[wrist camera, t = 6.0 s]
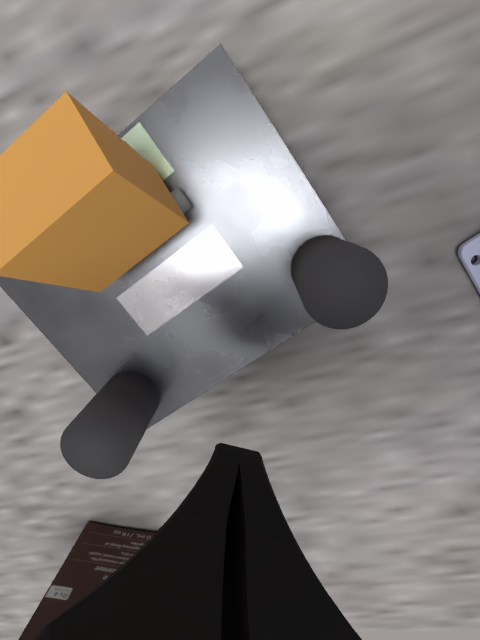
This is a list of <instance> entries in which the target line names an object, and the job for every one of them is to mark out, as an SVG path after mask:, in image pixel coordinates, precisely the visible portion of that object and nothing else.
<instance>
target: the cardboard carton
mask: <svg viewBox="0 0 480 640" xmlns="http://www.w3.org/2000/svg"><path fill="white" fill-rule="evenodd" d="M191 207H192V204H191V202H190V200H189V199H188V197H187V196H186V195H185V193H184V192H183V191H182V190H181V189H180V188H179V187H177V188H176V189H175V190H173V191H172V192H171V193H170V192H169V190H168V188H167V187H166V185H165V184H164V182H163V180H162V179H161V177H160V175H159V174H158V172H157V171H156V169H155V167H154V166H153V165H151V164H150V163H149V162H148V161H147V160H146V159H144V158H143V157H142V156H141V155H140V154H139V153H137V152H136V151H135V150H134V149H133V148H132V147H130V146H129V145H128V144H127V143H126V142H125V141H123V140H122V139H121V138H120V137H119V136H118V135H116V134H115V133H114V132H113V131H112V130H111V129H109V128H108V127H107V126H106V125H105V124H104V123H102V122H101V121H100V120H99V119H98V118H97V117H95V116H94V115H93V114H92V113H91V112H90V111H88V110H87V109H86V108H85V107H84V106H83V105H81V104H80V103H79V102H78V101H77V100H76V99H74V98H73V97H72V96H71V95H70V94H69V93H67V92H65V93H64V94H63V95H62V96H61V97H60V98H59V99H58V100H57V101H56V102H55V103H54V104H53V105H52V106H51V107H50V108H49V109H48V110H46V111H45V112H44V113H43V114H42V115H41V116H40V117H39V118H38V119H37V120H36V121H35V122H34V123H33V124H32V125H31V126H30V127H29V128H28V129H27V130H26V131H25V132H24V133H23V134H22V135H21V136H20V137H19V138H18V139H17V140H16V141H15V142H14V143H13V144H12V145H11V146H10V147H9V148H7V149H6V150H5V151H4V152H3V153H2V154H1V155H0V276H2V277H8V278H15V279H21V280H27V281H33V282H40V283H46V284H52V285H58V286H64V287H71V288H77V289H83V290H89V291H96V292H101V291H102V290H104V289H105V288H106V287H108V286H109V285H110V284H111V283H113V282H114V281H115V280H117V279H118V278H119V277H120V276H122V275H123V274H124V273H126V272H127V271H128V270H129V269H131V268H132V267H133V266H135V265H136V264H137V263H138V262H140V261H141V260H142V259H144V258H145V257H146V256H147V255H149V254H150V253H151V252H153V251H154V250H155V249H156V248H158V247H159V246H160V245H162V244H163V243H164V242H165V241H167V240H168V239H169V238H170V237H172V236H173V235H174V234H176V233H177V232H178V231H179V230H181V229H182V228H183V227H185V226H186V225H187V224H188V223H189V222H188V220H187V219H186V217H185V216H184V213H185V212H186V211H187V210H189V209H190V208H191Z"/></svg>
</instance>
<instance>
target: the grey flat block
mask: <svg viewBox="0 0 480 640" xmlns="http://www.w3.org/2000/svg"><path fill="white" fill-rule="evenodd" d="M118 136H119V137H120V138H121V139H122V140H123V141H125V142H126V143H127V144H128V145H129V146H130V147H132V148H133V149H134V150H135V151H136V152H137V153H139V154H140V155H141V156H142V157H143V158H144V159H146V160H147V161H148V162H149V163H150V164H151V165H153V166H154V167H155V169H156V171H157V172H158V174H159V175H160V177H161V179H162V180H163V182H164V184H165V185H166V187H167V188H168V190H169V192H170V193H171V192H172V191H173V190H175V189H176V188H177V187H179V188H180V189H181V190H182V191H183V192H184V193H185V195H186V196H187V197H188V199H189V200H190V202H191V204H192V207H191V208H190V209H189V210H187V211H186V212H185V213H184V216H185V217H186V219H187V220H188V222H189V223H188V224H187V225H186V226H185V227H183V228H182V229H181V230H179V231H178V232H177V233H176V234H174V235H173V236H172V237H170V238H169V239H168V240H167V241H165V242H164V243H163V244H162V245H160V246H159V247H158V248H156V249H155V250H154V251H153V252H151V253H150V254H149V255H147V256H146V257H145V258H144V259H142V260H141V261H140V262H138V263H137V264H136V265H135V266H133V267H132V268H131V269H129V270H128V271H127V272H126V273H124V274H123V275H122V276H120V277H119V278H118V279H117V280H115V281H114V282H113V283H111V284H110V285H109V286H108V287H106V288H105V289H104V290H102V291H101V292H96V291H89V290H83V289H77V288H71V287H64V286H58V285H52V284H46V283H40V282H33V281H27V280H21V279H15V278H8V277H2V276H0V286H1V288H2V289H3V290H4V291H5V292H6V293H7V294H8V295H9V296H10V298H11V299H12V300H13V301H14V302H15V303H16V304H17V305H18V306H19V308H20V309H21V310H22V311H23V312H24V313H25V314H26V315H27V316H28V318H29V319H30V320H31V321H32V322H33V323H34V324H35V325H36V327H37V328H38V329H39V330H40V331H41V332H42V333H43V334H44V335H45V337H46V338H47V339H48V340H49V341H50V342H51V343H52V344H53V345H54V347H55V348H56V349H57V350H58V351H59V352H60V353H61V354H62V355H63V357H64V358H65V359H66V360H67V361H68V362H69V363H70V364H71V365H72V367H73V368H74V369H75V370H76V371H77V372H78V373H79V374H80V375H81V377H82V378H83V379H84V380H85V381H86V382H87V383H88V384H89V385H90V387H91V388H92V389H93V390H94V391H95V392H96V393H98V392H99V391H100V390H101V389H102V387H103V386H104V385H105V384H106V383H107V382H108V381H109V380H110V378H111V377H113V376H114V375H116V374H118V373H120V372H124V371H133V372H138V373H141V374H143V375H145V376H146V377H148V378H149V379H150V380H151V381H152V382H153V383H154V384H155V386H156V388H157V390H158V392H159V405H158V408H157V410H156V412H155V414H154V416H153V417H152V419H151V421H150V423H149V425H148V427H147V429H148V428H149V427H151V426H152V425H154V424H155V423H157V422H159V421H160V420H162V419H163V418H165V417H166V416H168V415H170V414H171V413H173V412H174V411H176V410H177V409H179V408H180V407H182V406H184V405H185V404H187V403H188V402H190V401H191V400H193V399H195V398H196V397H198V396H199V395H201V394H202V393H204V392H206V391H207V390H209V389H210V388H212V387H213V386H215V385H216V384H218V383H220V382H221V381H223V380H224V379H226V378H227V377H229V376H231V375H232V374H234V373H235V372H237V371H238V370H240V369H242V368H243V367H245V366H246V365H248V364H249V363H251V362H252V361H254V360H256V359H257V358H259V357H260V356H262V355H263V354H265V353H267V352H268V351H270V350H271V349H273V348H274V347H276V346H278V345H279V344H281V343H282V342H284V341H285V340H287V339H288V338H290V337H292V336H293V335H295V334H296V333H298V332H299V331H301V330H303V329H304V328H306V327H307V326H309V325H310V324H312V323H314V322H315V320H314V319H313V318H312V317H311V316H310V315H309V314H308V313H307V311H306V310H305V308H304V306H303V303H302V301H301V299H300V296H299V294H298V291H297V289H296V287H295V284H294V282H293V279H292V276H291V262H292V258H293V256H294V254H295V252H296V250H297V249H298V248H299V247H300V246H301V245H302V244H303V243H304V242H305V241H307V240H308V239H310V238H313V237H316V236H320V235H331V236H335V237H337V238H340V239H342V240H345V238H344V237H343V235H342V234H341V232H340V231H339V229H338V227H337V226H336V224H335V223H334V221H333V220H332V218H331V216H330V215H329V213H328V212H327V210H326V209H325V207H324V205H323V204H322V202H321V201H320V199H319V197H318V196H317V194H316V193H315V191H314V190H313V188H312V186H311V185H310V183H309V182H308V180H307V179H306V177H305V175H304V174H303V172H302V171H301V169H300V167H299V166H298V164H297V163H296V161H295V160H294V158H293V156H292V155H291V153H290V152H289V150H288V149H287V147H286V145H285V144H284V142H283V141H282V139H281V138H280V136H279V134H278V133H277V131H276V130H275V128H274V126H273V125H272V123H271V122H270V120H269V119H268V117H267V115H266V114H265V112H264V111H263V109H262V108H261V106H260V104H259V103H258V101H257V100H256V98H255V97H254V95H253V93H252V92H251V90H250V89H249V87H248V85H247V84H246V82H245V81H244V79H243V78H242V76H241V74H240V73H239V71H238V70H237V68H236V67H235V65H234V63H233V62H232V60H231V59H230V57H229V56H228V54H227V52H226V51H225V49H224V48H223V46H222V44H220V45H218V46H217V47H216V48H215V49H214V50H213V51H212V52H211V53H210V54H208V55H207V56H206V57H205V58H204V59H203V60H202V61H201V62H200V63H198V64H197V65H196V66H195V67H194V68H193V69H192V70H191V71H189V72H188V73H187V74H186V75H185V76H184V77H183V78H182V79H181V80H179V81H178V82H177V83H176V84H175V85H174V86H173V87H172V88H170V89H169V90H168V91H167V92H166V93H165V94H164V95H163V96H162V97H160V98H159V99H158V100H157V101H156V102H155V103H154V104H153V105H152V106H150V107H149V108H148V109H147V110H146V111H145V112H144V113H143V114H141V115H140V116H139V117H138V118H137V119H136V120H135V121H134V122H133V123H131V124H130V125H129V126H128V127H127V128H126V129H125V130H124V131H123V132H121V133H120V134H119V135H118ZM345 241H346V240H345Z"/></svg>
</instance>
